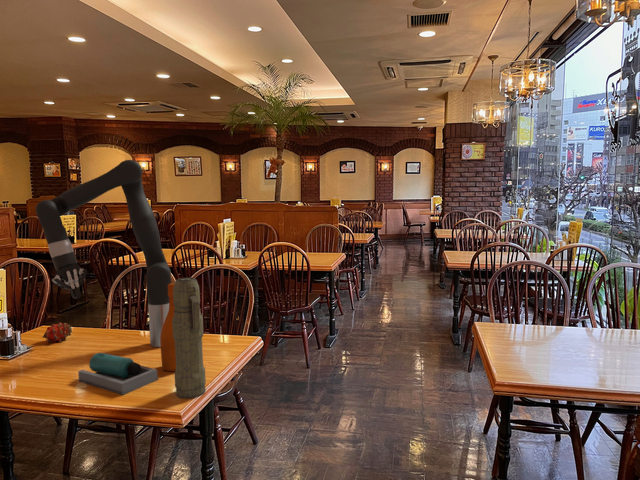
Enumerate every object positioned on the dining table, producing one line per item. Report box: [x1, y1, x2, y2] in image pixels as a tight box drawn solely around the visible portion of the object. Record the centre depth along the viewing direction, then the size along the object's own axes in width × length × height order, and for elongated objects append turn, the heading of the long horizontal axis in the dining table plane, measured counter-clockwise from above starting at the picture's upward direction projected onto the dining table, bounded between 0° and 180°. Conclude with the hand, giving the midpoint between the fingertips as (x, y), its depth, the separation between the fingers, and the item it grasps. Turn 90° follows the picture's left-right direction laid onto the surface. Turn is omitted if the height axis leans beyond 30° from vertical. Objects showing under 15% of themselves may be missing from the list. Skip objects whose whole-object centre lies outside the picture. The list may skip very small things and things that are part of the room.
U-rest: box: [77, 364, 159, 396], centre depth 146 cm, size 22×13×4 cm, turn 60°
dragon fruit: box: [42, 321, 73, 343], centre depth 190 cm, size 8×8×12 cm
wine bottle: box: [160, 282, 176, 372], centre depth 156 cm, size 10×10×30 cm
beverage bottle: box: [88, 352, 142, 378], centre depth 149 cm, size 6×7×20 cm
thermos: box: [172, 276, 207, 400], centre depth 135 cm, size 9×12×35 cm
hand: (77, 298), depth 167 cm, fingers closed
